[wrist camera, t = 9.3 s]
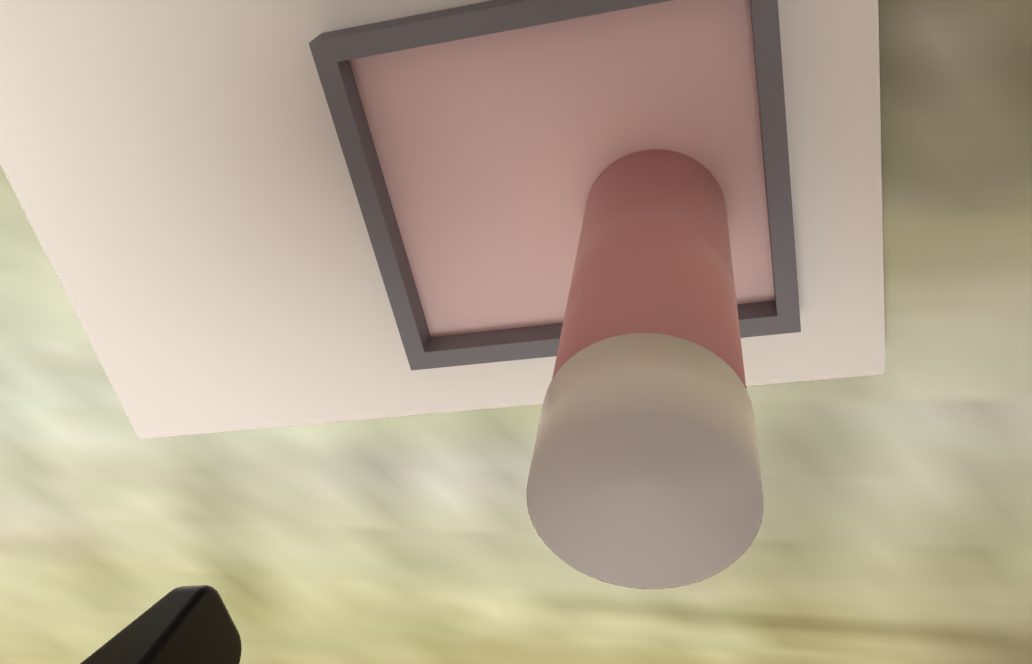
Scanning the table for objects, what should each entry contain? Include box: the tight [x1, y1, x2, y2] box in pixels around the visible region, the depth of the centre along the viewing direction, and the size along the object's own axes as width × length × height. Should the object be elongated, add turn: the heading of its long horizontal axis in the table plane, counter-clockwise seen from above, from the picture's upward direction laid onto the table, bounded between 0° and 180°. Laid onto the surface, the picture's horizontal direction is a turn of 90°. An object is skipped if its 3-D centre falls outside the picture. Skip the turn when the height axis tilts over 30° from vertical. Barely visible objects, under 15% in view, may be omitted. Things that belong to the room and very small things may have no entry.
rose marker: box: [527, 149, 763, 589], centre depth 14 cm, size 3×3×8 cm
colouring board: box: [0, 0, 886, 439], centre depth 16 cm, size 17×17×3 cm
